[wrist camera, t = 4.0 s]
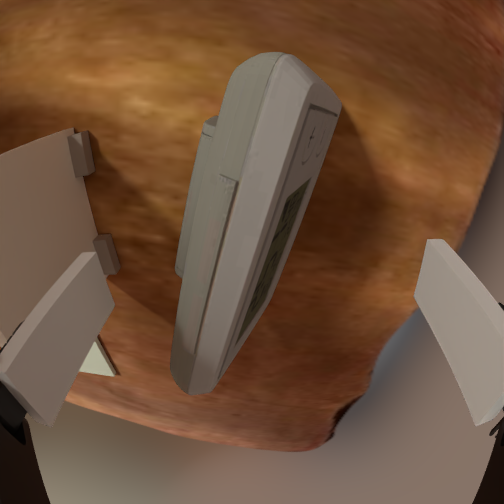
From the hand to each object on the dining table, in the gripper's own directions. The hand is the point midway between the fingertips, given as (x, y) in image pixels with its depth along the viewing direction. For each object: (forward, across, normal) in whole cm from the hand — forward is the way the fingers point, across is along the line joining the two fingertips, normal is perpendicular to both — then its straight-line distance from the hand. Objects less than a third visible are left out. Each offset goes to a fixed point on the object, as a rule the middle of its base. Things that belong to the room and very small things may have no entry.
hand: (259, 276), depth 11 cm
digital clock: (+10, 0, 0) cm, 10 cm away
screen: (+9, -13, 0) cm, 16 cm away
